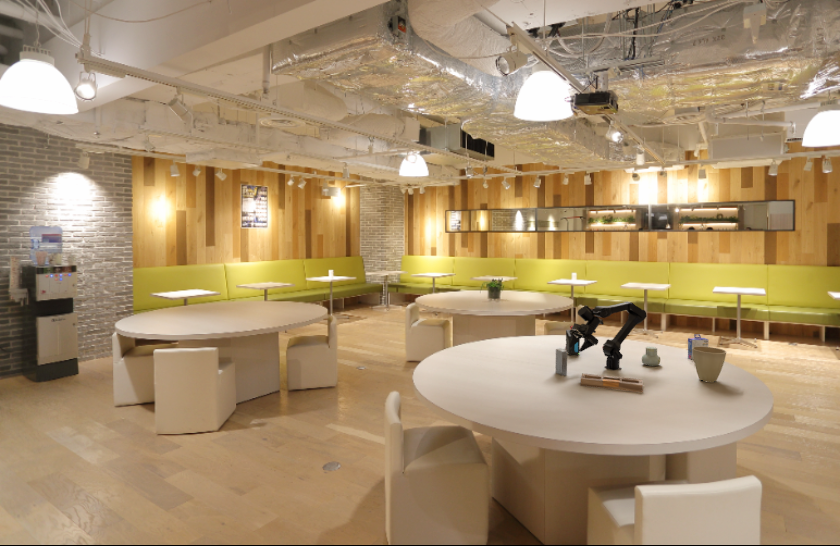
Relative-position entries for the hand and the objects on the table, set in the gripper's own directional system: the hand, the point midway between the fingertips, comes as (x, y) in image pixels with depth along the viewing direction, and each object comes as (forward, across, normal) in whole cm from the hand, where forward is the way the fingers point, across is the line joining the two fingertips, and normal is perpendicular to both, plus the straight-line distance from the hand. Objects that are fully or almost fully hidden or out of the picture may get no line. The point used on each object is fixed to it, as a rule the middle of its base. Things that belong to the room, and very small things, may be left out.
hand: (574, 349), depth 264 cm
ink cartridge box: (-45, -1, +75) cm, 87 cm away
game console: (-7, -40, +29) cm, 50 cm away
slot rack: (+8, +26, +11) cm, 29 cm away
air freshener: (-22, +1, +47) cm, 52 cm away
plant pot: (-26, +34, +51) cm, 66 cm away
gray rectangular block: (+15, 0, +2) cm, 15 cm away
